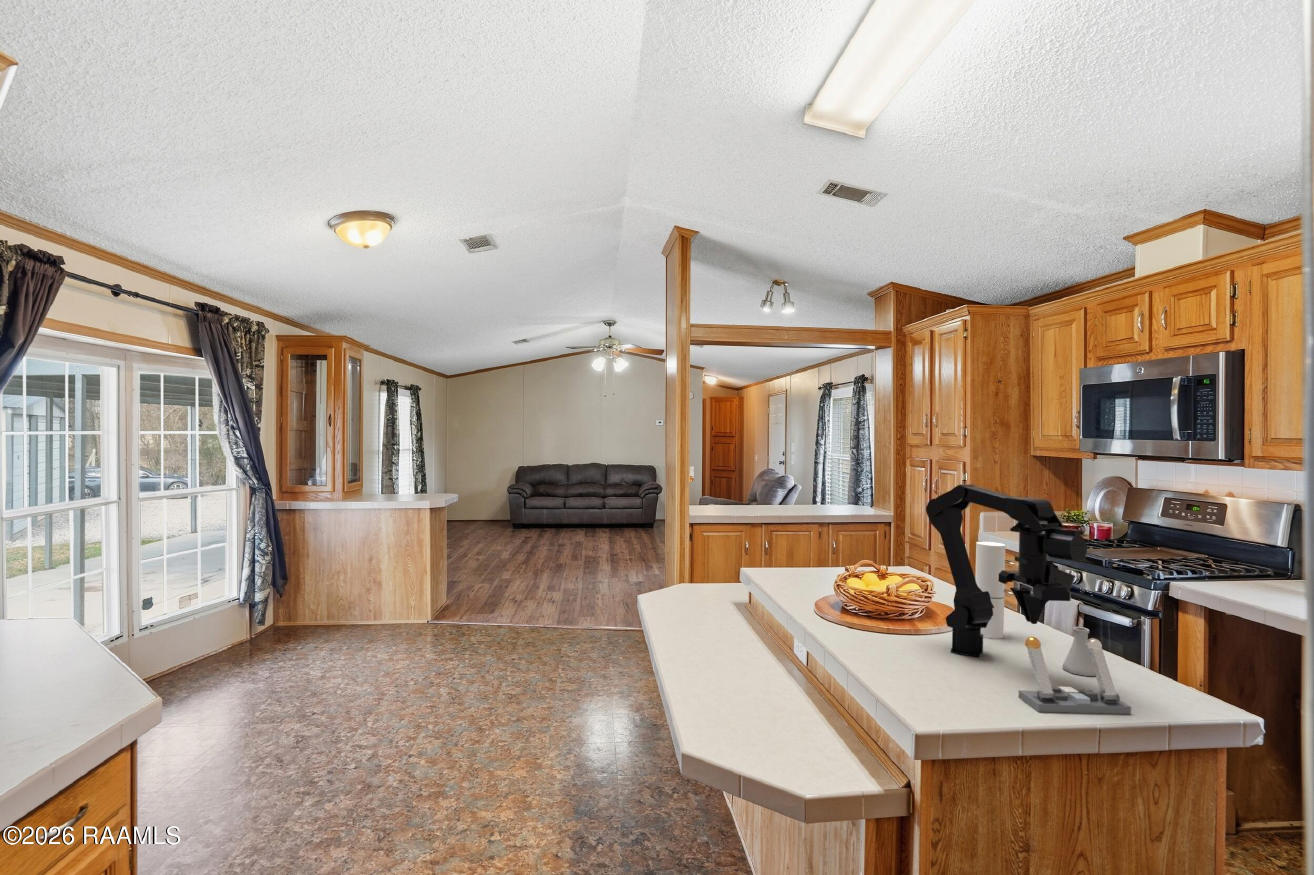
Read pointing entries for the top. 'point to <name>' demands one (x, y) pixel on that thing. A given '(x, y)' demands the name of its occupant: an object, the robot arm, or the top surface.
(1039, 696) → the orange knob lever
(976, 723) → the top surface
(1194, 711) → the top surface
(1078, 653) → the flask
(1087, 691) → the panel
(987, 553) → the cylindrical container
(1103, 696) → the lever
